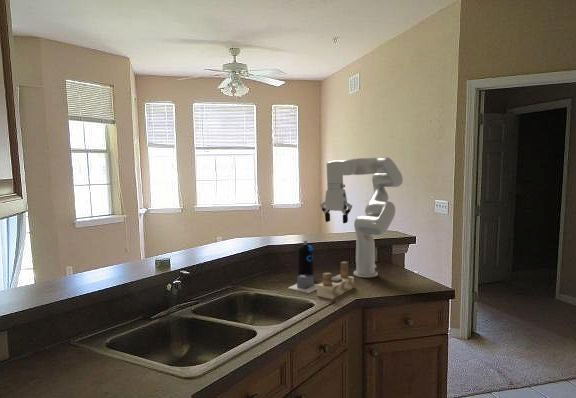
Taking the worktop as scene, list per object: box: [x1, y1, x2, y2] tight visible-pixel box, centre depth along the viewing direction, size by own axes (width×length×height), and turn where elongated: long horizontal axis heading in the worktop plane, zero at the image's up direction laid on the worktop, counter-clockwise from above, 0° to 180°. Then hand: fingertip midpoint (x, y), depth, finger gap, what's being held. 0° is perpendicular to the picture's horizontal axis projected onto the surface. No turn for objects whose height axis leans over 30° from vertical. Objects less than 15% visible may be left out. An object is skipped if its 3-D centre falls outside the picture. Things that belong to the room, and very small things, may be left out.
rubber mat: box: [287, 283, 319, 294], centre depth 182 cm, size 12×12×1 cm
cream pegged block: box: [316, 261, 355, 300], centre depth 175 cm, size 20×8×12 cm, turn 143°
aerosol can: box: [297, 240, 314, 277], centre depth 195 cm, size 8×8×20 cm
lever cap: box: [296, 274, 315, 289], centre depth 182 cm, size 7×5×6 cm
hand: (336, 222), depth 183 cm, fingers open, 9 cm apart
